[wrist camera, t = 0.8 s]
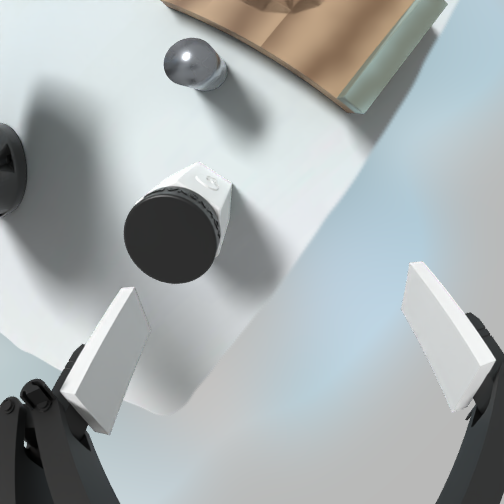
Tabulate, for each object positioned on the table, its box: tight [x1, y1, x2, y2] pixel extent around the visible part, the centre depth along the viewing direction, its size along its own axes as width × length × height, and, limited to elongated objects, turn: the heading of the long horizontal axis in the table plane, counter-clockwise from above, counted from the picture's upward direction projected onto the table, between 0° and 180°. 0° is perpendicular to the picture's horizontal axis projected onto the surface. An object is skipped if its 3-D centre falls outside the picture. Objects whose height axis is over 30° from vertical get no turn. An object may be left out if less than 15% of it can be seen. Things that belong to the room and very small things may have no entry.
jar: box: [124, 162, 232, 284], centre depth 29 cm, size 9×8×12 cm
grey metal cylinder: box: [164, 38, 227, 91], centre depth 24 cm, size 4×4×8 cm
